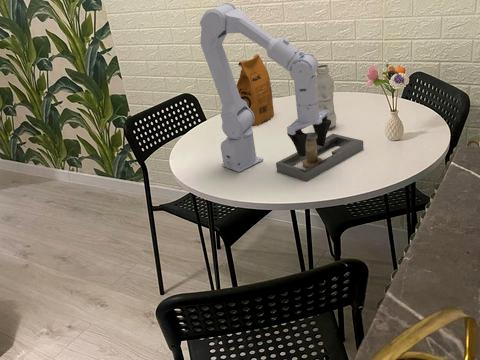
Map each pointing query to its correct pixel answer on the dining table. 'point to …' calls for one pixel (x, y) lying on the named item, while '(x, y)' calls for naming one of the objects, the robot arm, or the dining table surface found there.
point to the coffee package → (256, 89)
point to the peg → (311, 151)
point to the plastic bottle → (325, 92)
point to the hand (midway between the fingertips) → (311, 150)
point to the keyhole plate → (338, 155)
